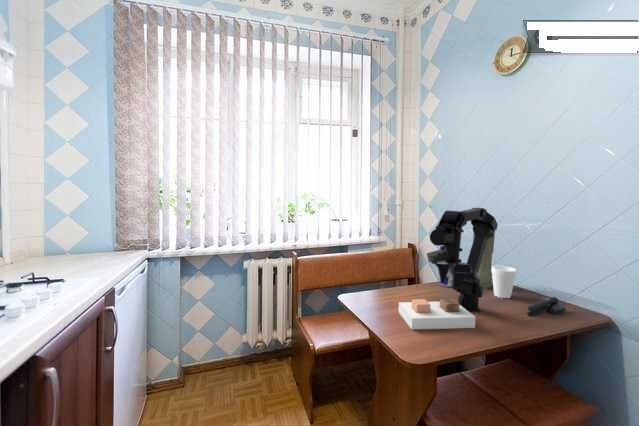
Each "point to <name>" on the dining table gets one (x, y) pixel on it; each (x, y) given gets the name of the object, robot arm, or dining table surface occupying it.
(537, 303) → the can opener
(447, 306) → the walnut key
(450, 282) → the energy drink
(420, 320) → the key panel
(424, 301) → the terracotta key
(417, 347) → the dining table surface
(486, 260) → the thermos
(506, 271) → the foam cup
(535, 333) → the dining table surface
